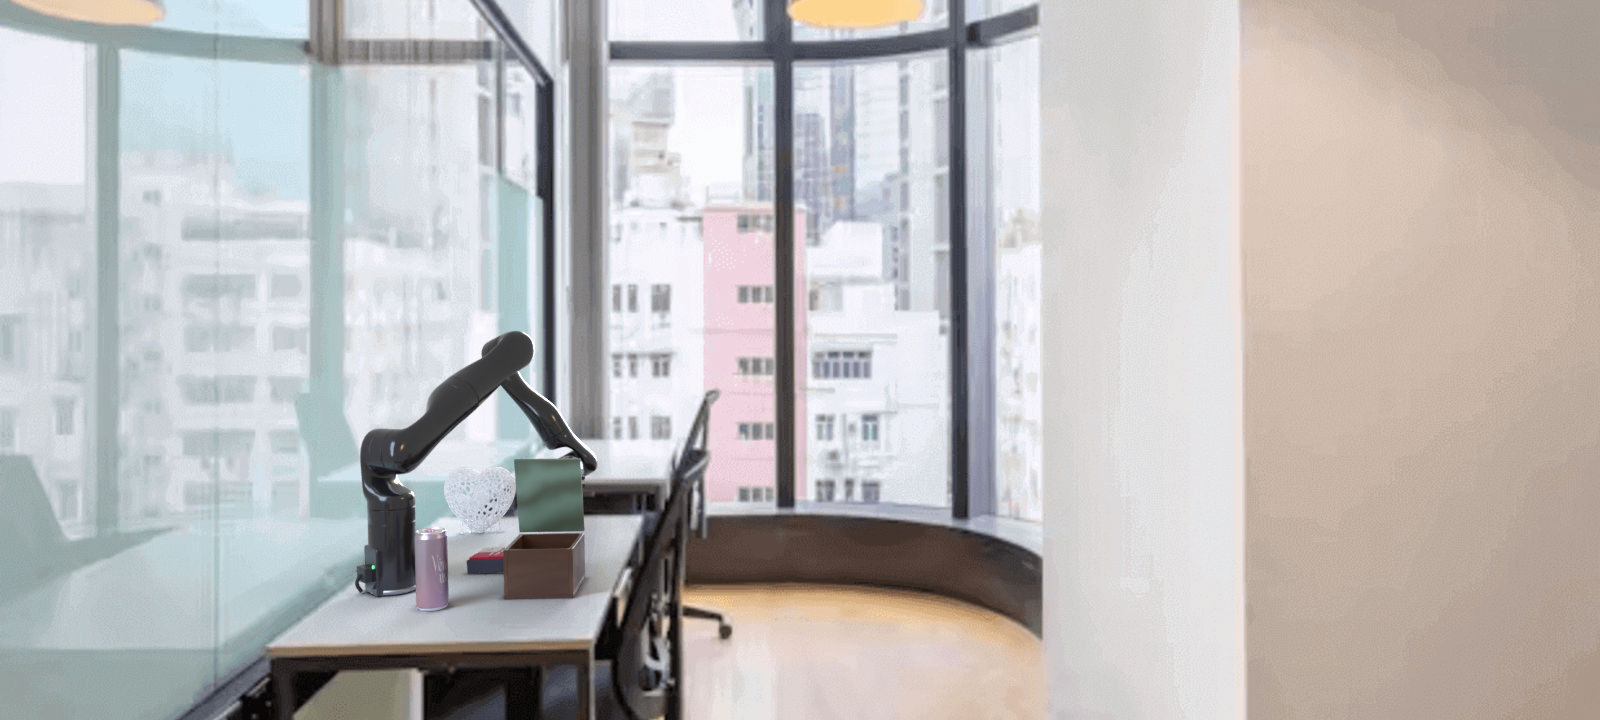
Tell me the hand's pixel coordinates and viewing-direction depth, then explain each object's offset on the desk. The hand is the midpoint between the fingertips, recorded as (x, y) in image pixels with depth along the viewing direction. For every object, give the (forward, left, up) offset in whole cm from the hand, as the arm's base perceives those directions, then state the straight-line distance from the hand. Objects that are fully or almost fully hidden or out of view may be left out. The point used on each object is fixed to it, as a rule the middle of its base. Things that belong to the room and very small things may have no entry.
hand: (549, 488), depth 225 cm
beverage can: (-27, -2, -20) cm, 33 cm away
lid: (0, 0, -2) cm, 2 cm away
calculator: (-1, +16, -20) cm, 26 cm away
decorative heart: (+13, +56, -20) cm, 61 cm away
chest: (-4, -5, -20) cm, 21 cm away
